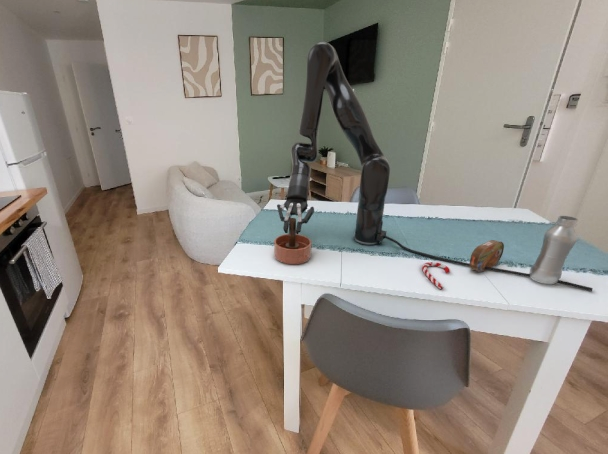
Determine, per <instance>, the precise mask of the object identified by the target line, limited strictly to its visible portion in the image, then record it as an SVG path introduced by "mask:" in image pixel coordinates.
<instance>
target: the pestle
mask: <svg viewBox="0 0 608 454" xmlns="http://www.w3.org/2000/svg"><path fill="white" fill-rule="evenodd" d="M296 227H297V218H295V217H291V218H290V219H289V227H288V234H289V242H288V243H286V245H285V248H286V249H299V244H298V243H296Z"/></svg>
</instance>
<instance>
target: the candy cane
mask: <svg viewBox="0 0 608 454" xmlns="http://www.w3.org/2000/svg"><path fill="white" fill-rule="evenodd" d="M429 267H437V268H441V269H443V270H444V271H445V273H446V274H449V273H450V271H451V270H450V268H449V266H448V265H445V264H443V263H440V262H435V261H428V262H425V263H423V265H422V267H421V269H422V272H423V274H424V276H426V278H427V279H428V280H429V281H430V282H431V283H432V284H433V285H434V286H435V287H437V288H438V289H439V290H442V289H444V286H443V284H442V283H440V281H438V280H437V279H436V278H435V277H434V276H433V275H432V274H431V272H429V270H428V268H429Z"/></svg>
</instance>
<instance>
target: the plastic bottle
mask: <svg viewBox="0 0 608 454" xmlns="http://www.w3.org/2000/svg"><path fill="white" fill-rule="evenodd" d="M578 220H579V219H578V218H577V217H574V216H569V215H559V216H558V217H557V219H556V221H555V225H553V226H551V227H549V228H548V229H547V230H546V231H545V232H544V235H543V240H542V245H541V248H540V251H539V254H538V256H537V258H536V260H535V261H534V263H533V264H532V265H531V267H530V268H529V273H528V274H529V275H530V277H529V278H531V279H532V280H533V281H535V282H538V283H540V284H544V285H555V284H556V283H557V282H558V281H559V280H561V278H562V274H563V267H564V265H565V262H566V259H567V257H568V256H569V254H570V252H571V251H572V249H573V248H574V246H575V245H576V243H578V239H579V234H578V233H577V231H576V229H575V227H577V223H578ZM557 284H558V283H557Z"/></svg>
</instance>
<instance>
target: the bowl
mask: <svg viewBox="0 0 608 454" xmlns="http://www.w3.org/2000/svg"><path fill="white" fill-rule="evenodd" d="M288 242H289V233H285V234H281V235H278V236H277V237H275V238H274V240H273V256H274V258H275V259H276V260H277V261H279V262H281V263H283V264H286V265H300V264H303V263H306V262H308V261H309V260H310V259H311V257H312V244H313V243H312V240H311V238H310V237H308V236H306V235H302V234H300V233H299V234H296V243H298V244H299V249H286V248H285V245H286V243H288Z"/></svg>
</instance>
